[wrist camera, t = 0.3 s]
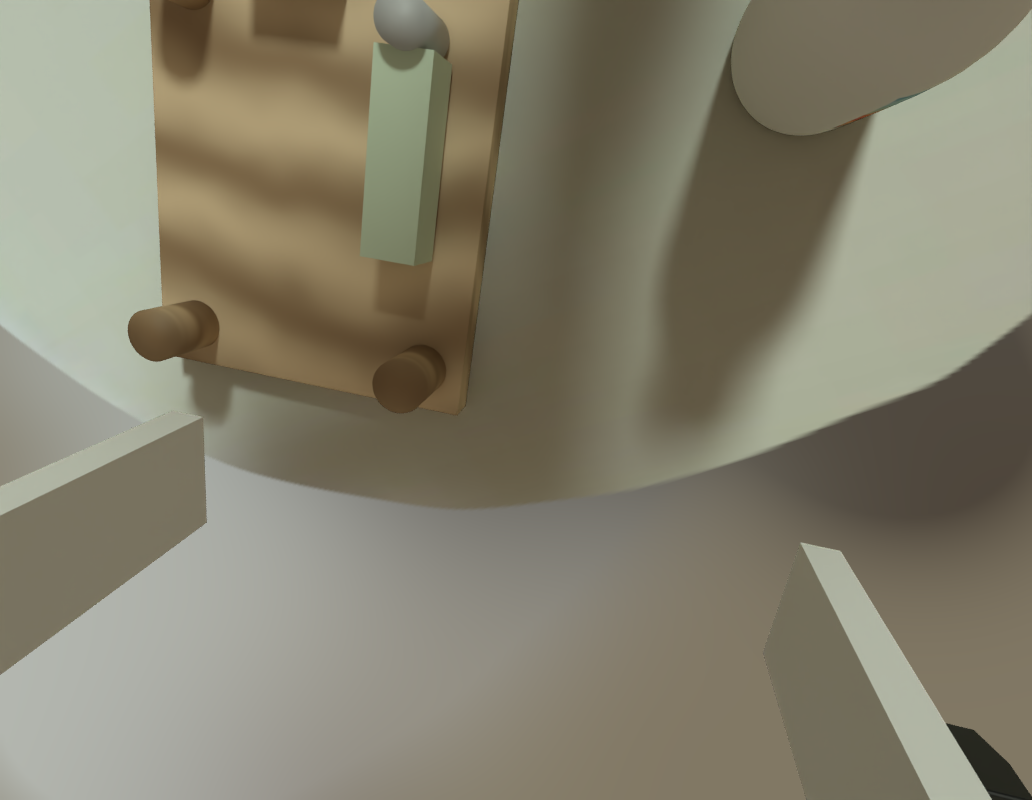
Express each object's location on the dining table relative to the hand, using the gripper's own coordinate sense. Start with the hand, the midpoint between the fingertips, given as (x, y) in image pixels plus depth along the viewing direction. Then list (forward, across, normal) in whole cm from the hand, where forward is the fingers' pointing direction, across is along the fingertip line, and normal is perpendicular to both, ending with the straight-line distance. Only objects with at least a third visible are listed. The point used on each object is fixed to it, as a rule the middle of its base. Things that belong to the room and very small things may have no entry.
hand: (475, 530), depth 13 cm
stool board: (+24, -16, +6) cm, 30 cm away
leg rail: (+22, -10, +9) cm, 26 cm away
